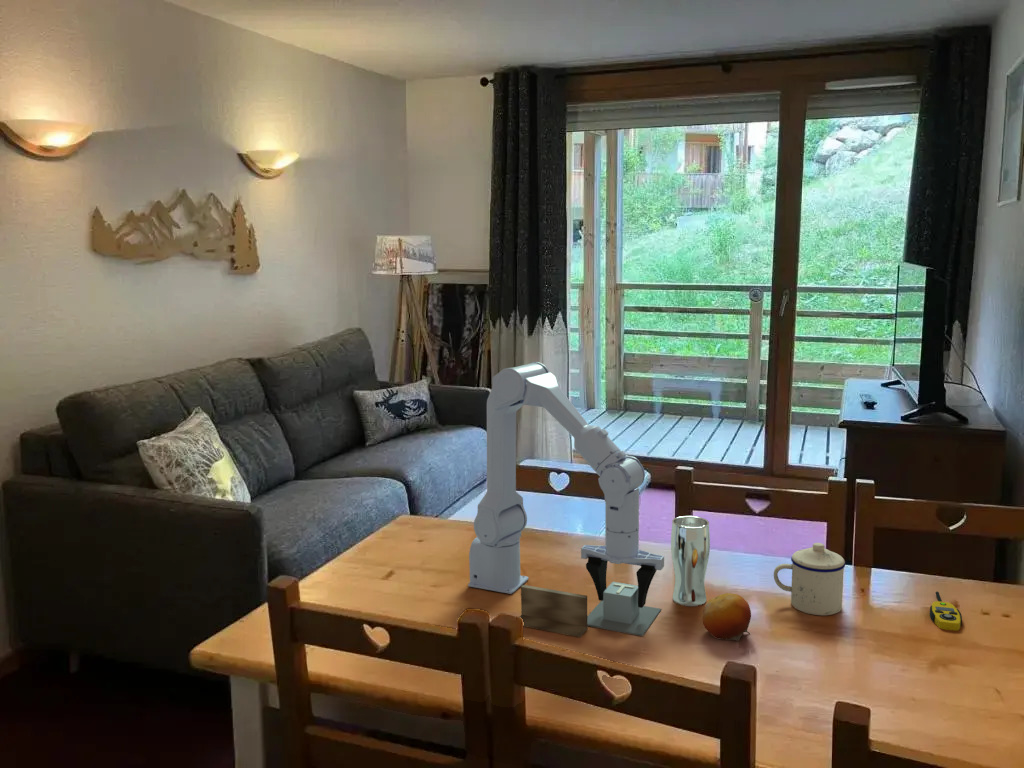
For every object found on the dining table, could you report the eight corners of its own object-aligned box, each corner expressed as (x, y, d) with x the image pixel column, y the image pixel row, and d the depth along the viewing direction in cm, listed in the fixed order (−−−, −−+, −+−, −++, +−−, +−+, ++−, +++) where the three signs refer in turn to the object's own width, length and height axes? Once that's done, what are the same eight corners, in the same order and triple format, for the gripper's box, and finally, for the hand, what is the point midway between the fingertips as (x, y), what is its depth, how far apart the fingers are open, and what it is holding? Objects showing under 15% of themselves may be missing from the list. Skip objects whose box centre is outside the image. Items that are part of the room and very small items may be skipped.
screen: (515, 624, 150) (514, 592, 148) (523, 616, 153) (523, 584, 152) (580, 637, 144) (579, 603, 143) (587, 628, 147) (587, 595, 146)
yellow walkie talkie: (934, 619, 145) (922, 584, 159) (933, 630, 145) (922, 594, 159) (966, 623, 143) (951, 587, 157) (965, 634, 144) (951, 597, 158)
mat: (581, 624, 149) (581, 623, 149) (602, 600, 159) (602, 598, 159) (642, 636, 144) (642, 634, 144) (661, 610, 154) (661, 608, 154)
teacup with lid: (842, 598, 157) (845, 537, 155) (844, 619, 149) (847, 555, 147) (773, 591, 161) (775, 531, 159) (771, 611, 153) (774, 549, 151)
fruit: (754, 643, 138) (729, 597, 139) (712, 657, 142) (689, 612, 143) (768, 624, 145) (744, 580, 146) (728, 637, 149) (705, 595, 150)
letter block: (603, 619, 150) (603, 591, 149) (612, 607, 155) (612, 580, 154) (630, 624, 148) (630, 595, 147) (639, 612, 153) (639, 584, 152)
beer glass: (709, 608, 154) (710, 528, 152) (669, 606, 156) (670, 527, 153) (708, 593, 161) (709, 516, 158) (670, 590, 162) (671, 514, 160)
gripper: (574, 529, 148) (574, 603, 151) (656, 540, 142) (655, 618, 144) (588, 517, 155) (589, 588, 157) (667, 527, 148) (667, 601, 151)
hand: (621, 601), depth 151 cm, fingers open, 7 cm apart
